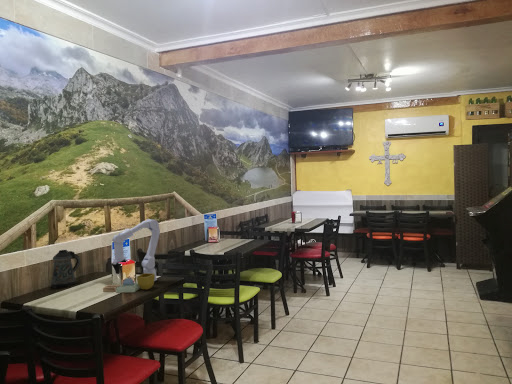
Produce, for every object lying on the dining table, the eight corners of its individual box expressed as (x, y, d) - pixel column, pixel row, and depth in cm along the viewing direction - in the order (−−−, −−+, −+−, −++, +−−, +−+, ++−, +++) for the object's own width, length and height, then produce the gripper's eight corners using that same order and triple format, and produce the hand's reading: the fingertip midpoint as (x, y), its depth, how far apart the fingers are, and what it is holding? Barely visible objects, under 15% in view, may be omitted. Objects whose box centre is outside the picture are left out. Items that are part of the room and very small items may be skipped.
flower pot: (148, 290, 254) (147, 277, 254) (136, 290, 257) (136, 276, 257) (156, 286, 262) (155, 273, 262) (144, 286, 265) (143, 273, 265)
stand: (108, 288, 264) (107, 285, 264) (120, 288, 263) (120, 284, 263) (103, 291, 258) (102, 287, 257) (116, 291, 256) (115, 287, 256)
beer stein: (45, 288, 276) (42, 252, 274) (66, 280, 294) (64, 247, 293) (64, 289, 270) (61, 253, 269) (84, 281, 289) (82, 247, 288)
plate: (123, 288, 259) (123, 277, 259) (133, 288, 259) (133, 278, 258) (123, 288, 258) (123, 278, 258) (133, 289, 258) (133, 278, 257)
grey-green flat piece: (123, 287, 265) (123, 282, 265) (141, 287, 263) (141, 282, 263) (116, 292, 254) (115, 287, 254) (134, 292, 252) (134, 286, 252)
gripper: (118, 250, 272) (119, 270, 272) (108, 254, 257) (109, 275, 258) (128, 250, 271) (129, 269, 271) (118, 254, 256) (119, 275, 257)
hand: (120, 272), depth 265 cm, fingers open, 7 cm apart
